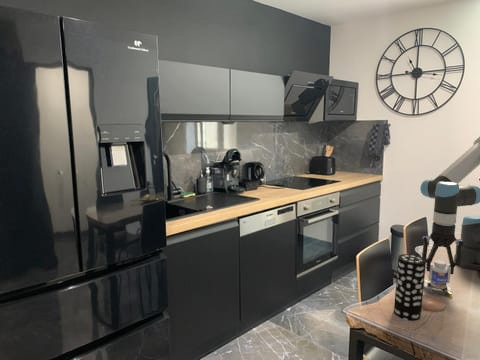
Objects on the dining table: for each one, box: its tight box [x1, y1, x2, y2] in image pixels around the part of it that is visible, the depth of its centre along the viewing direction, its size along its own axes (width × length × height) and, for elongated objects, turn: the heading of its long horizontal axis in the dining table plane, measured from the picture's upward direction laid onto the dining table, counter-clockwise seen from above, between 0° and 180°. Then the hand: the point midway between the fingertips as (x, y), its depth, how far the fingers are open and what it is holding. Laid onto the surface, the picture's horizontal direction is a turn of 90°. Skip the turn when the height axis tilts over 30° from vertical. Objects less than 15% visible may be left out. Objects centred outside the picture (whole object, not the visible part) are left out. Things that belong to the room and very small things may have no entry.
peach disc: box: [422, 294, 446, 312], centre depth 126 cm, size 10×10×1 cm
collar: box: [423, 279, 453, 299], centre depth 136 cm, size 9×12×2 cm
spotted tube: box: [393, 253, 427, 322], centre depth 117 cm, size 8×8×20 cm
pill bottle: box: [431, 259, 448, 290], centre depth 136 cm, size 5×5×10 cm
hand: (438, 280), depth 136 cm, fingers closed on pill bottle, 5 cm apart
